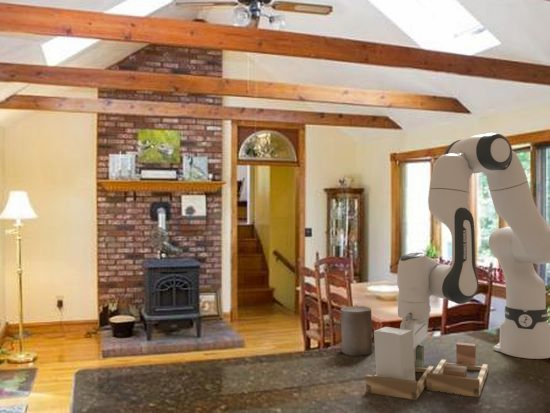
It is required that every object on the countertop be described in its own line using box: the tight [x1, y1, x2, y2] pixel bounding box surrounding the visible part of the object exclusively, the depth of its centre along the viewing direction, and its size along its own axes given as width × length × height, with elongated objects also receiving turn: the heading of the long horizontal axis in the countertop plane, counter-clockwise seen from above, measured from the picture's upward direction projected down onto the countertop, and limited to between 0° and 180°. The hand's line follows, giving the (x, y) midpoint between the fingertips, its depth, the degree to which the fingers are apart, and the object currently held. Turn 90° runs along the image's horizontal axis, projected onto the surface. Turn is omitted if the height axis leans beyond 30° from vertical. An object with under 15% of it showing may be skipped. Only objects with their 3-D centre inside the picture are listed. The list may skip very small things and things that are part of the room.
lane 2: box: [426, 341, 489, 398], centre depth 141 cm, size 27×12×6 cm, turn 153°
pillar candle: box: [340, 304, 373, 357], centre depth 168 cm, size 10×10×15 cm
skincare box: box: [373, 326, 416, 381], centre depth 133 cm, size 8×6×15 cm
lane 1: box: [365, 344, 435, 401], centre depth 140 cm, size 27×12×6 cm, turn 153°
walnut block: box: [442, 364, 468, 377], centre depth 134 cm, size 5×5×5 cm
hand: (414, 359), depth 151 cm, fingers closed on lane 1, 2 cm apart
